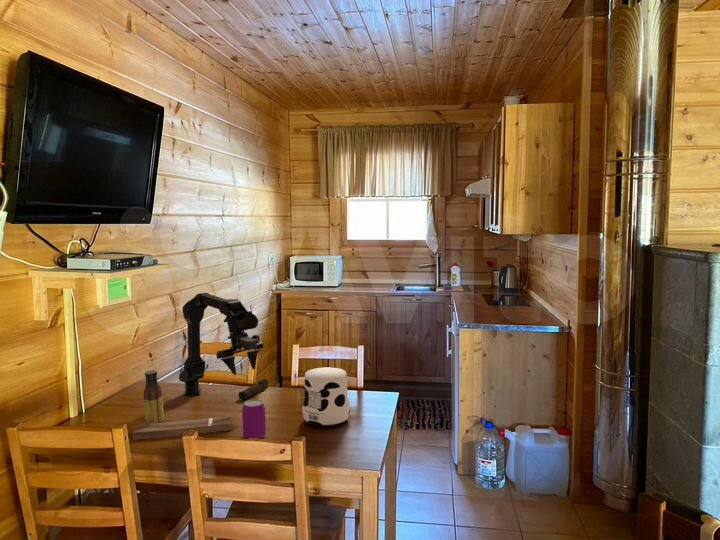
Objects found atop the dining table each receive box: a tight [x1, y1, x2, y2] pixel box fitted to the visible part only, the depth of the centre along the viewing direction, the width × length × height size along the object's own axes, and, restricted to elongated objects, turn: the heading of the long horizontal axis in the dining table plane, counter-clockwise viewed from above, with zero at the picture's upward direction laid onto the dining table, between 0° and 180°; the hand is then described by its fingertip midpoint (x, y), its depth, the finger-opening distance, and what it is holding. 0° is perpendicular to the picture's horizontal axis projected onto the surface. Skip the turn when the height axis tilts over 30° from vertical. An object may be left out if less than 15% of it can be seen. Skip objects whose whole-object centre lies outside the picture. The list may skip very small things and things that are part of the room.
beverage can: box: [241, 398, 267, 439], centre depth 177 cm, size 8×8×12 cm
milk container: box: [301, 366, 351, 427], centre depth 190 cm, size 17×17×18 cm
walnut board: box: [132, 416, 232, 441], centre depth 182 cm, size 7×32×3 cm, turn 103°
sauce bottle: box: [143, 370, 165, 424], centre depth 187 cm, size 7×6×20 cm
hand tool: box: [238, 378, 269, 401], centre depth 222 cm, size 19×4×5 cm, turn 154°
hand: (244, 372), depth 200 cm, fingers open, 9 cm apart
